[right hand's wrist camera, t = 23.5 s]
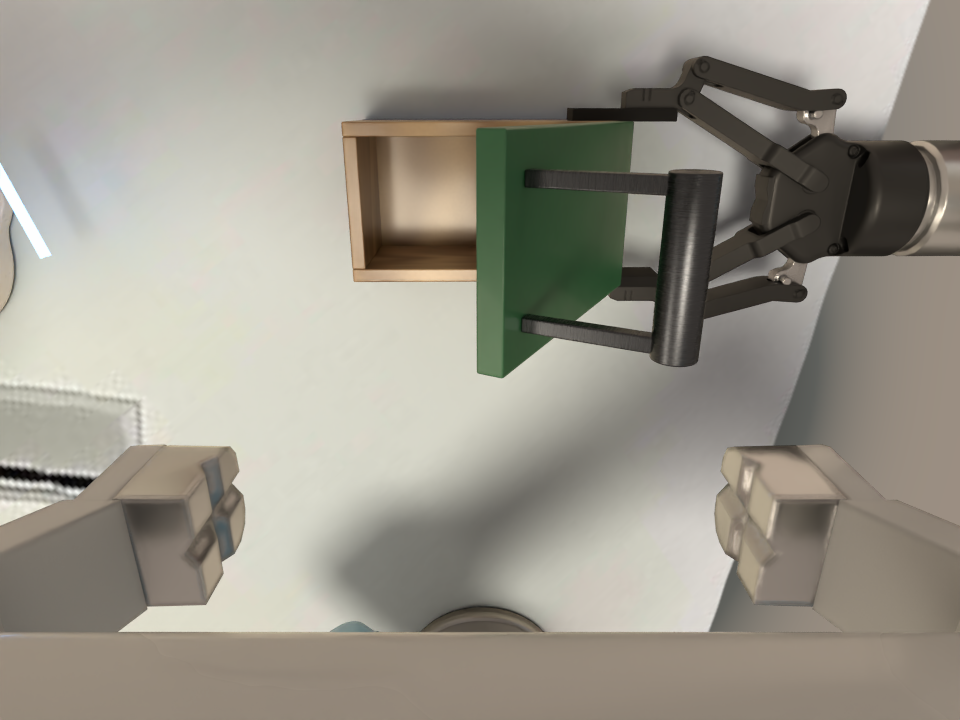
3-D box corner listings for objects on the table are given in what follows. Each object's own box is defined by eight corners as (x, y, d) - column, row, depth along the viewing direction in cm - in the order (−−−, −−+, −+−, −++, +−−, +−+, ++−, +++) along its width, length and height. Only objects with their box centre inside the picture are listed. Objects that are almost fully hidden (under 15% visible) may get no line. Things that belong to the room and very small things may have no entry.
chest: (373, 254, 50) (353, 282, 42) (364, 119, 46) (340, 121, 38) (587, 253, 50) (609, 281, 42) (596, 119, 46) (621, 120, 38)
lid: (476, 373, 27) (682, 416, 23) (474, 127, 23) (719, 130, 20) (601, 282, 41) (742, 300, 38) (613, 121, 38) (770, 121, 34)
